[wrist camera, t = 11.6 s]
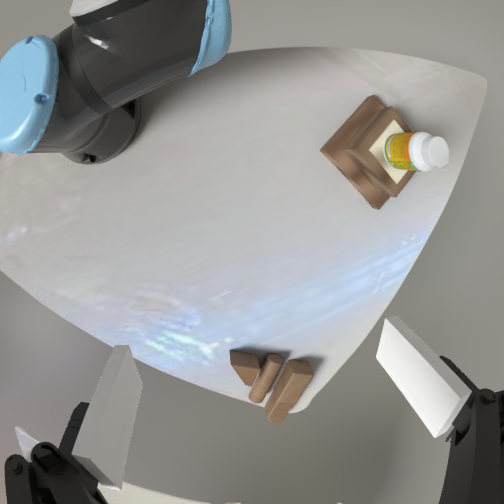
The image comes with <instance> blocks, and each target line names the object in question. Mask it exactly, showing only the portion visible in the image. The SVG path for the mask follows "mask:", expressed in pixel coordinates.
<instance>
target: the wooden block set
mask: <svg viewBox="0 0 504 504" xmlns="http://www.w3.org/2000/svg"><path fill="white" fill-rule="evenodd" d="M230 360H231V365H232V367H233V368H234V370H235V371H236V372H237V374H238V375H239V377H240V378H241V379H242V381H243V382H244V383H245V385H248V386H251V387H252V385H253V383H254V381H255V379H256V377H257V375H258V373H259V371H260V367H259V363H258V358H257V355H253V354H247V353H242V352H237V351H232V350H230ZM282 364H283V359H282V357H281V356H279V355H277V354H269V355H268V356H267V359H266V361H265V363H264V365H263V367H262V369H261V371H260V373H259V375H258V377H257V379H256V381H255V384H254V386H253V388H252V390H251V392H250V394H249V399H250V400H251V401H252V402H254V403H261V402H262V401H263V399H264V398H265V396H266V394H267V392H268V390H269V388H270V387H271V385H272V383H273V381H274V379H275V377H276V375H277V373H278V372H279V370H280V368H281V366H282ZM312 377H313V372H312V370H311V368H310V366H309V364H308V362H304V361H297V360H289V361H288V362H287V364H286V366H285V368H284V370H283V372H282V374H281V375H280V377H279V379H278V381H277V383H276V385H275V387H274V388H273V390H274V391H273V393H272V394H271V396H270V398H269V400H268V402H267V403H266V405H265V410H266V414H267V418H268V419H269V420H270V421H271V422H272V423H273V424H280V423H281V422H282V421H283V419H284V418H285V416H286V415H287V413H288V412H289V410H290V409H291V407H292V406H293V404H295V403H296V402H297V401H298V399H299V398H300V396H301V395H302V393H303V391H304V390H305V388H306V387H307V385H308V383H309V382H310V380H311V378H312Z"/></svg>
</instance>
